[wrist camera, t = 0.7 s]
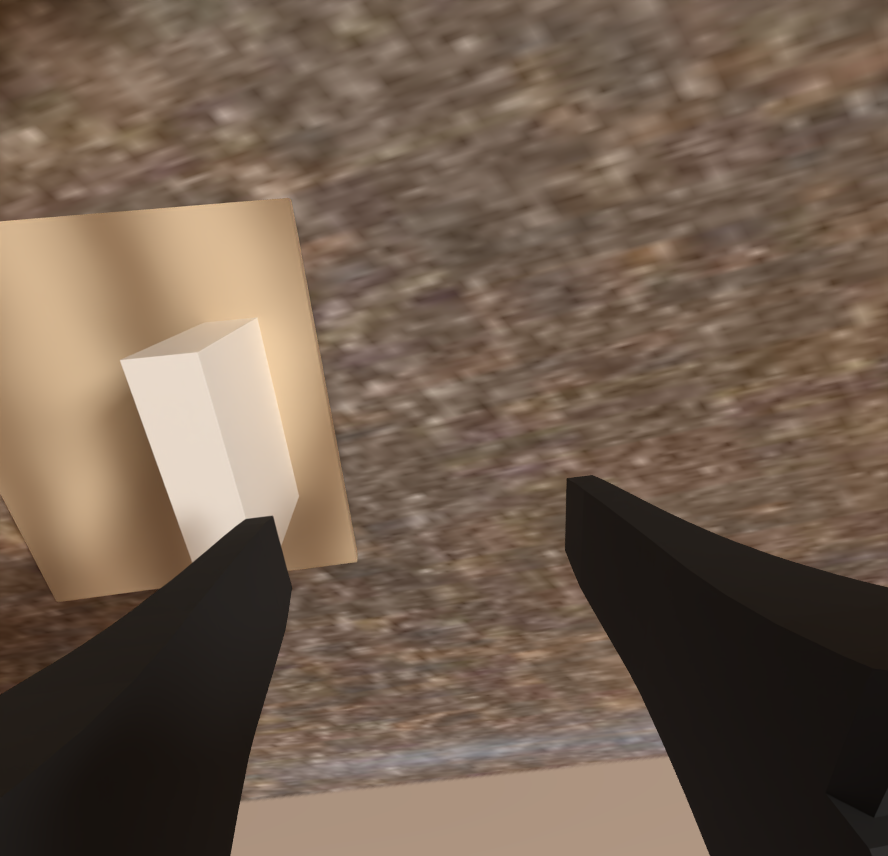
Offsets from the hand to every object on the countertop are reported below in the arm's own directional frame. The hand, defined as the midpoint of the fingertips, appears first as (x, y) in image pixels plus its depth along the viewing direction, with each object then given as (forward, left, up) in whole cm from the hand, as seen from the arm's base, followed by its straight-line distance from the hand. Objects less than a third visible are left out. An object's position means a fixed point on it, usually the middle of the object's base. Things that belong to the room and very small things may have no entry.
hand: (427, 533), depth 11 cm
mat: (-11, 0, -10) cm, 15 cm away
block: (-7, 0, -10) cm, 12 cm away
